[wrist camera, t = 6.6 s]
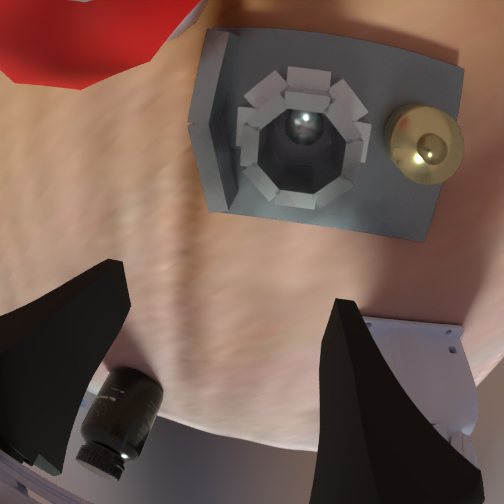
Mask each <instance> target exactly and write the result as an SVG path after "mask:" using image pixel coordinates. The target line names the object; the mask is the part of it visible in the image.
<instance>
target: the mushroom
mask: <svg viewBox="0 0 504 504" xmlns="http://www.w3.org/2000/svg"><path fill="white" fill-rule="evenodd" d="M207 4H208V0H0V70H1V71H2V72H3V73H4V74H5V75H6V76H7V77H9V78H10V79H11V80H12V81H13V82H14V83H19V84H32V85H43V86H52V87H61V88H69V89H77V90H82V89H84V88H86V87H88V86H90V85H92V84H95V83H97V82H99V81H101V80H104V79H106V78H108V77H111V76H113V75H115V74H118V73H120V72H123V71H125V70H128V69H130V68H133V67H136V66H138V65H141V64H144V63H146V62H149V61H150V60H151V59H152V58H153V56H154V55H155V54H156V53H157V51H158V50H159V49H160V47H161V46H162V45H163V44H164V42H166V41H168V40H171V39H174V38H177V37H179V36H180V35H181V34H182V33H183V32H185V31H186V30H187V29H188V28H190V27H191V26H192V25H193V24H195V23H196V21H197V20H198V18H199V16H200V15H201V13H202V12H203V10H204V8H205V7H206V5H207Z"/></svg>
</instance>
